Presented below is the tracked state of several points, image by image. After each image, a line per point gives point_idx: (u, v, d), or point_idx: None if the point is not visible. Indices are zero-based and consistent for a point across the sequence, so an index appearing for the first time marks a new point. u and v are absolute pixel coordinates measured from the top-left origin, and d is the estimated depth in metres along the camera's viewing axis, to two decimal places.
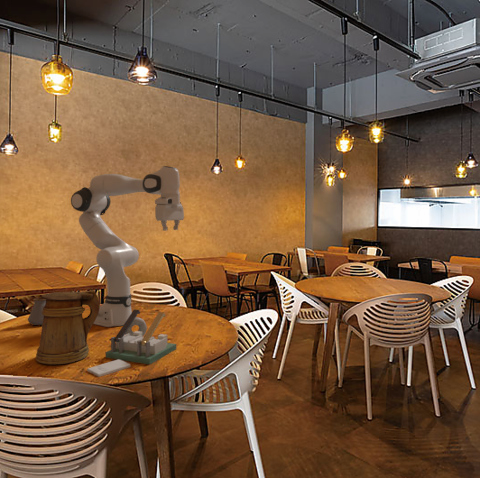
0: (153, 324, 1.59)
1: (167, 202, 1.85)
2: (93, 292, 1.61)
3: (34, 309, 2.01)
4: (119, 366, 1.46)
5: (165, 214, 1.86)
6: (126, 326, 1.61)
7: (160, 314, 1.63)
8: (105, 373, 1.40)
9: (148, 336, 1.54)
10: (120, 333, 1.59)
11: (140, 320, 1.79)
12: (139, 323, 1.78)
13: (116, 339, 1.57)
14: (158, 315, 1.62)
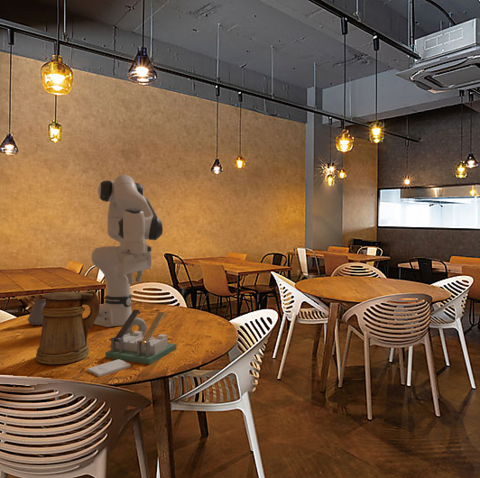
0: (153, 324, 1.59)
1: None
2: (93, 292, 1.61)
3: (34, 309, 2.01)
4: (119, 365, 1.46)
5: None
6: (126, 326, 1.61)
7: (160, 314, 1.63)
8: (105, 373, 1.40)
9: (148, 336, 1.54)
10: (120, 333, 1.59)
11: (140, 320, 1.79)
12: (139, 323, 1.78)
13: (116, 339, 1.57)
14: (158, 315, 1.62)
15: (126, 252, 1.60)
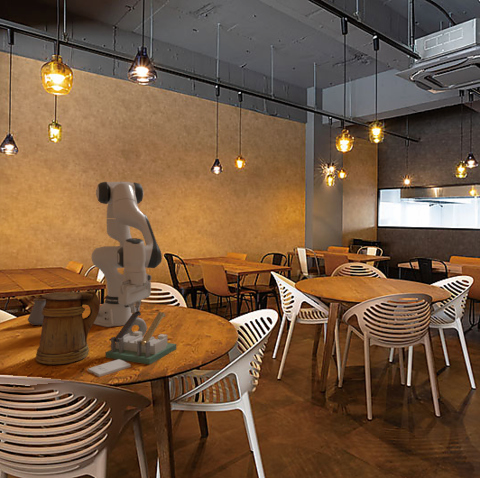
0: (153, 324, 1.59)
1: None
2: (93, 292, 1.61)
3: (34, 309, 2.01)
4: (119, 365, 1.46)
5: None
6: (126, 327, 1.62)
7: (160, 314, 1.63)
8: (105, 373, 1.40)
9: (148, 336, 1.54)
10: (120, 333, 1.59)
11: (140, 320, 1.79)
12: (139, 323, 1.78)
13: (116, 339, 1.57)
14: (158, 315, 1.62)
15: (127, 283, 1.60)
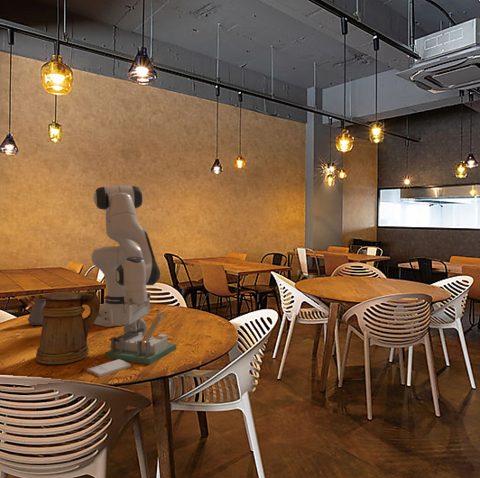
0: (153, 324, 1.59)
1: None
2: (93, 292, 1.61)
3: (34, 309, 2.01)
4: (119, 365, 1.46)
5: None
6: (128, 334, 1.63)
7: (160, 314, 1.63)
8: (105, 373, 1.40)
9: (148, 336, 1.54)
10: (121, 336, 1.60)
11: None
12: None
13: (116, 338, 1.57)
14: (158, 315, 1.62)
15: (129, 302, 1.61)
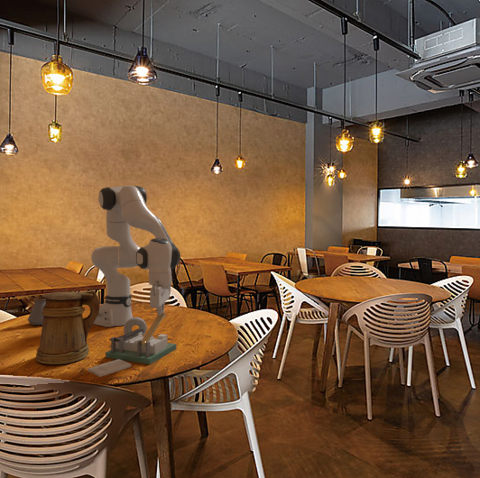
0: (153, 325, 1.59)
1: None
2: (93, 292, 1.61)
3: (34, 309, 2.01)
4: (120, 365, 1.46)
5: None
6: (128, 334, 1.63)
7: (160, 315, 1.63)
8: (106, 373, 1.40)
9: (148, 336, 1.55)
10: (121, 336, 1.60)
11: (140, 320, 1.79)
12: (139, 323, 1.78)
13: (116, 338, 1.57)
14: (158, 316, 1.63)
15: (157, 284, 1.56)
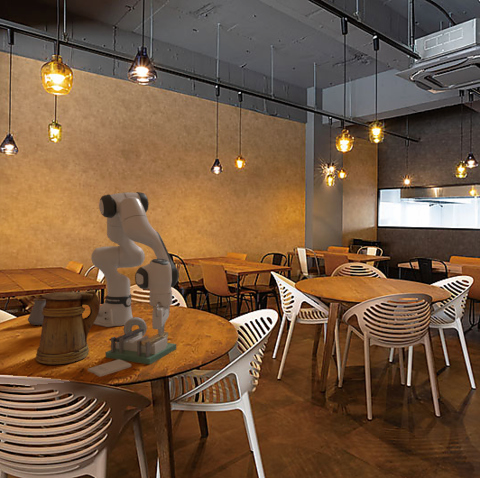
0: (156, 335, 1.61)
1: None
2: (93, 292, 1.62)
3: (34, 309, 2.01)
4: (120, 365, 1.46)
5: None
6: (128, 334, 1.63)
7: (164, 332, 1.66)
8: (106, 373, 1.40)
9: (149, 340, 1.55)
10: (121, 336, 1.60)
11: (140, 320, 1.79)
12: (139, 323, 1.78)
13: (116, 338, 1.57)
14: None
15: (159, 305, 1.56)
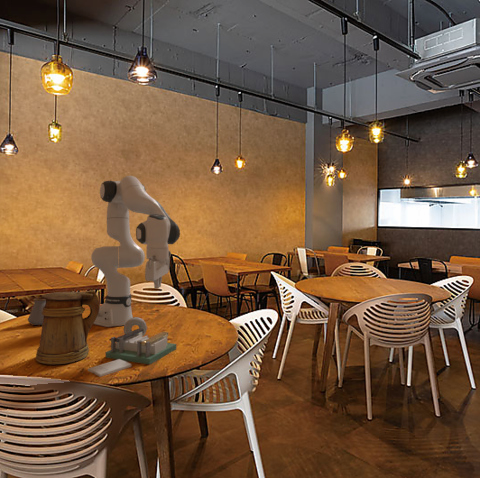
0: (156, 335, 1.61)
1: None
2: (93, 292, 1.61)
3: (34, 309, 2.01)
4: (120, 365, 1.46)
5: None
6: (128, 334, 1.63)
7: (164, 332, 1.66)
8: (106, 373, 1.40)
9: (149, 340, 1.55)
10: (121, 336, 1.60)
11: (140, 320, 1.79)
12: (139, 323, 1.78)
13: (116, 338, 1.57)
14: (162, 332, 1.65)
15: (153, 258, 1.61)
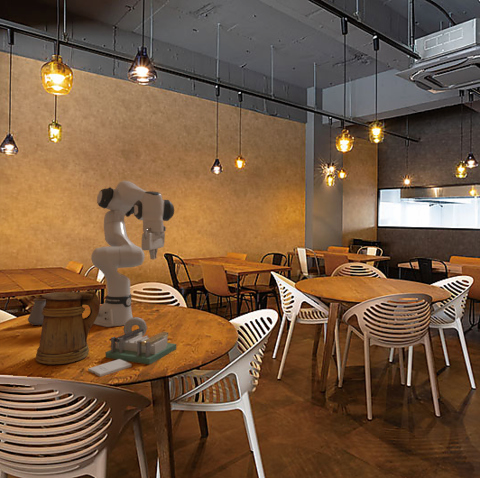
0: (156, 335, 1.61)
1: None
2: (93, 292, 1.62)
3: (34, 309, 2.01)
4: (120, 365, 1.46)
5: None
6: (128, 334, 1.63)
7: (164, 332, 1.66)
8: (106, 373, 1.40)
9: (149, 340, 1.55)
10: (121, 336, 1.60)
11: (140, 320, 1.79)
12: (139, 323, 1.78)
13: (116, 338, 1.57)
14: (162, 332, 1.65)
15: (149, 230, 1.75)
